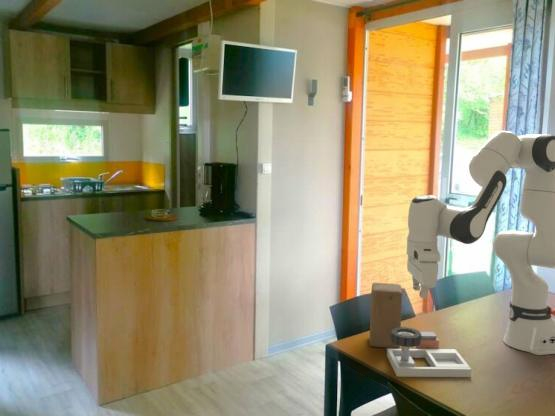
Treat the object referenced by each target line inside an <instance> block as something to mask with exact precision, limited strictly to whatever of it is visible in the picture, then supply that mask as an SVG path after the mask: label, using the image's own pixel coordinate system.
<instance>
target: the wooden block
mask: <svg viewBox="0 0 555 416" xmlns="http://www.w3.org/2000/svg"><path fill="white" fill-rule="evenodd" d="M370 296H371V297H370V320H369V323H370V324H369V346H371V347H372V348H373V347H375V348H386V349H400V346H399V345H396V344H394V343H393V342H392V341H391V330H392V329H394V328H398V327H399V328H400V327H402V325H401V323H402V301H403V291H402V285H401V284H399V283H383V282H373V283H372V285H371V292H370Z"/></svg>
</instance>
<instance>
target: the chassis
mask: <svg viewBox="0 0 555 416" xmlns="http://www.w3.org/2000/svg"><path fill="white" fill-rule="evenodd" d="M386 356H387V357H386V358H387V359H388V361H389V364H390V365H391V367H392V369H393V372H394V374H395V375H396V377H403V378H404V377H405V378H407V377H413V378H414V377H415V378H416V377H419V378H425V377H426V378H430V377H431V378H432V377H435V378H471V377H472V368H471V366H470V365H469V364H468V363H467V362H466V360H465V359H464V358H463V356H462V355H461V354H460V353H459V352H458V350H457V349H456V348H454V349H453V348H450V349H449V348H439V349H416V348H410V347H406V346H405V347H404V346H400V348H397V349H396V348H386ZM414 359H425V360H426V361H427V363H428V365H429V366H416V363H415V361H414Z"/></svg>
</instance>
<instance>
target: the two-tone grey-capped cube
mask: <svg viewBox="0 0 555 416" xmlns="http://www.w3.org/2000/svg"><path fill="white" fill-rule="evenodd" d="M420 333H421V343H420V345H418V346H415V349H440V348H439V346H440V340H439V338H438V337H437V335H436V333H435V332H434V331H420Z"/></svg>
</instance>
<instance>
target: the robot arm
mask: <svg viewBox="0 0 555 416" xmlns="http://www.w3.org/2000/svg"><path fill="white" fill-rule="evenodd" d="M510 169H520V170H521V169H522V170H524V172H525V176H524V178H523V185H522V188H521V189H522V191H521V199H520V206H519V211H520V214H521V216H522V217H523V218H525V219H526V220H527V221H529V222H530V223H532V224H533V225H534V227H535V232H532V231H523V230H514V229H513V230H502V231H500V232H498V233H497V234H496V235H495V237H494V239H493V243H492V248H493V249H492V250H493V251H494V254H495V257H497V258H498V259H499V260H501V262H502V263H503V265H504V266H505V267H506V269H507V270H508V273H509V276H510V279H511V280H510V281H511V299H510V302H509V305H508V306H509V307H508V323H507V328H506V330H505V334H504V337H503V338H502V341H503V343H504V344H505V345H507V346H509V347H512V348H514V349H516V350H519V351H524V352H528V353H530V354H533V355H537V356H543V355H555V318H554V317H555V308H552V307H550V306H548V297H549V286H548V283H547V281H546V279H544V278H543V277H542V276H540V275H538V274H537V273H536V272H535V270H534V269H533V266H536V267H540V268H541V267H542V268H546V269H555V135H552V134H549V133H548V134H547V133H543V134H533V133H531V134H530V133H529V134H523V135H517V134H516V133H514V132H512V131H509V130H500V131H499V132H496V133H495V134H494V135H492V136H491V137H490V138H489V139H488V140H487V141H486V142H484V144H482V146H481V147H480V148H479V149H478V150H477V152H476V153H475V154H474V155H473V157H472V158H471V160H470V162H469V164H468V170H469V174H470V176H471V178H472V180H473V181H474V182H475V183H476V184H477V185H478V186H479V187H481V190H480V191H479V193H478V195H477V196H476V199H474V201H473V204H472V205H470V206H468V207H465V208H464V207H463V208H461V207H456V206H453V205H448V204H446V203H444V202H442V201H440V200H439V199H438V197H437V196H436V195H433V194H432V195H431V194H428V195H427V194H424V195H418V196H415V197H414V198H412V199H411V201H410V203H409V209H408V214H407V215H408V216H407V227H408V235H407V238H406V255H407V261H406V263H407V264H406V269H407V272H408V273H409V274H410V275H411V279H412V284H413V285H412V289H413V290H414V291H417V292H419V297H420V298H421V299H427V297H428V296H427V295H428V293H429V292H428V291H429V289H434V288H435V287H436V286H437V282H438V281H437V280H438V276H439V275H438V274H439V262H440V261H441V253H440V252H439V251H440V250H439V246H438V242H439V241H438V237H439V236H440V237H443V238H448V239H451V240H455V241H457V242H460V243H462V244H464V245H470V244H474V243H476V242H477V241H479V240H480V239H481V238H482V236H483V235H484V232H485V230H486V226H487V224H488V221H489V219H490V217H491V215H492V213H493V212H494V210H495V208H496V206H497V204H498V203H499V200H500V199H501V197H502V195H503V193H504V191H505V189H506V186H507V177H506V175H507V173H508V172H509V170H510ZM552 316H554V317H552Z"/></svg>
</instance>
